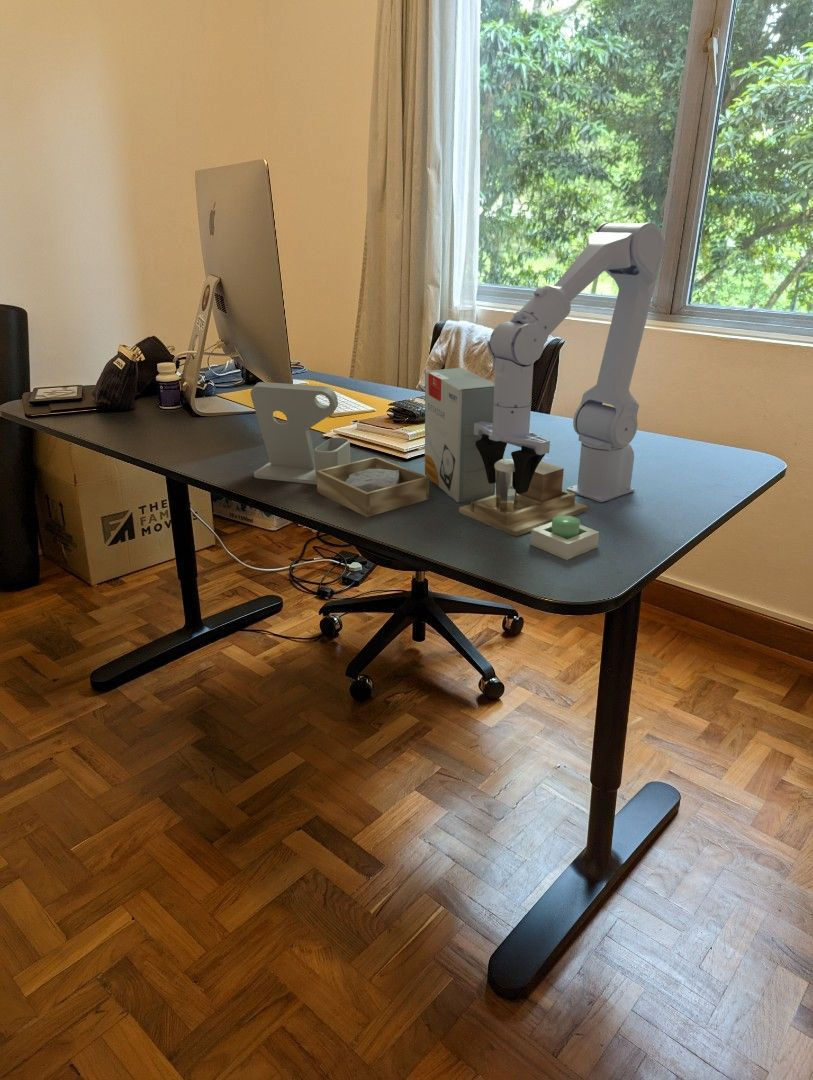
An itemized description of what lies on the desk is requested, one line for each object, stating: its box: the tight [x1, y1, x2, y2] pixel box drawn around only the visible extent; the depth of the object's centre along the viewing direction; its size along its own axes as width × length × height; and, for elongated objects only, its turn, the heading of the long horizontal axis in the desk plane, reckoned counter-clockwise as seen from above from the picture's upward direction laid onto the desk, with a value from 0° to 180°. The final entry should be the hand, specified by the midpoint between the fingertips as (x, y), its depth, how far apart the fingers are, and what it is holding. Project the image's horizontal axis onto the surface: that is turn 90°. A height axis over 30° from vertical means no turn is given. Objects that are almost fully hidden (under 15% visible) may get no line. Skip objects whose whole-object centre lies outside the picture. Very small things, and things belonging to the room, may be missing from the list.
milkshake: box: [494, 458, 519, 514], centre depth 119 cm, size 4×5×10 cm
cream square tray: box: [530, 522, 600, 561], centre depth 111 cm, size 7×7×2 cm
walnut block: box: [520, 460, 565, 502], centre depth 125 cm, size 5×5×6 cm
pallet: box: [458, 488, 588, 537], centre depth 124 cm, size 17×13×2 cm
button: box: [551, 516, 581, 539], centre depth 110 cm, size 4×4×2 cm
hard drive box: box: [424, 367, 496, 503], centre depth 132 cm, size 16×8×20 cm, turn 21°
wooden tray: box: [316, 456, 430, 518], centre depth 131 cm, size 13×15×4 cm
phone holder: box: [250, 381, 351, 485], centre depth 139 cm, size 17×10×18 cm, turn 72°
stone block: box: [345, 469, 400, 492], centre depth 131 cm, size 12×5×10 cm
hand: (507, 487), depth 120 cm, fingers open, 6 cm apart
